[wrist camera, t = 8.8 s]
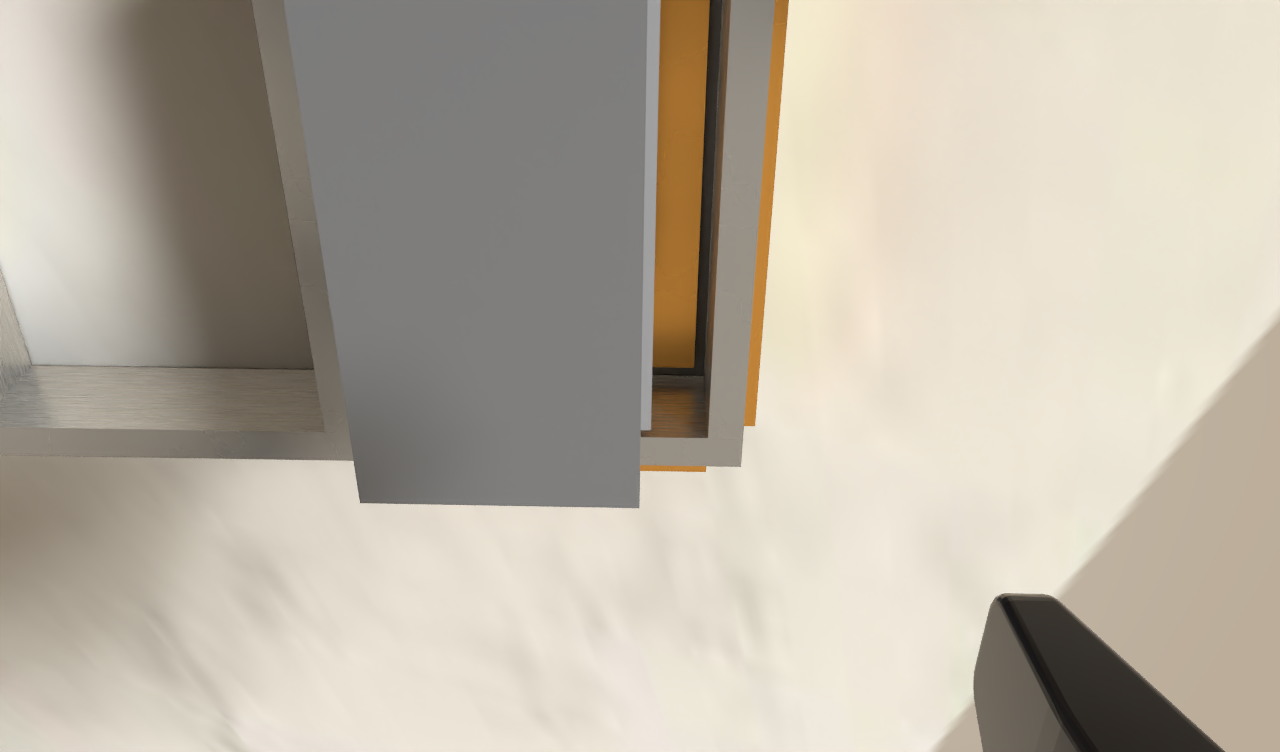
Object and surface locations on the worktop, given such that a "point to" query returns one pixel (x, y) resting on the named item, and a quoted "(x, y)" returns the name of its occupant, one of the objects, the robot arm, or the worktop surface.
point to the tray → (313, 399)
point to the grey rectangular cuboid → (487, 240)
